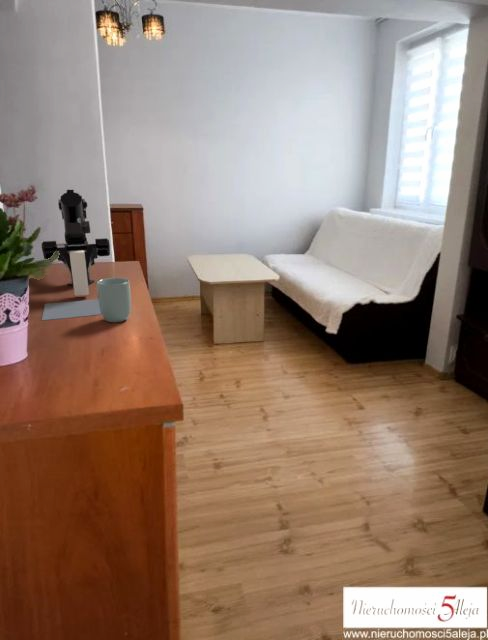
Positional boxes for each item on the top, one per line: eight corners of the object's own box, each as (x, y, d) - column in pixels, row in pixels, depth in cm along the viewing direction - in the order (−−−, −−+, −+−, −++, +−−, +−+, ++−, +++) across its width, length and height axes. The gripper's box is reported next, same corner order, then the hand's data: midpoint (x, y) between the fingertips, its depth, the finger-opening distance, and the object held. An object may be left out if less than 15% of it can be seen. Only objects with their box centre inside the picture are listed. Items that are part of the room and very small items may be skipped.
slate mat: (45, 304, 129) (45, 303, 129) (118, 298, 135) (118, 297, 135) (41, 321, 115) (41, 320, 115) (123, 313, 121) (123, 312, 121)
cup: (102, 326, 110) (97, 286, 107) (99, 317, 117) (95, 279, 114) (134, 322, 113) (131, 283, 110) (129, 314, 120) (126, 276, 117)
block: (74, 292, 137) (69, 251, 133) (88, 291, 138) (84, 250, 134) (74, 295, 133) (69, 253, 129) (89, 294, 134) (84, 252, 130)
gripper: (37, 212, 129) (40, 258, 122) (106, 210, 135) (112, 253, 128) (43, 237, 138) (45, 280, 132) (107, 234, 144) (112, 275, 138)
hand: (79, 272), depth 132 cm, fingers closed on block, 4 cm apart
